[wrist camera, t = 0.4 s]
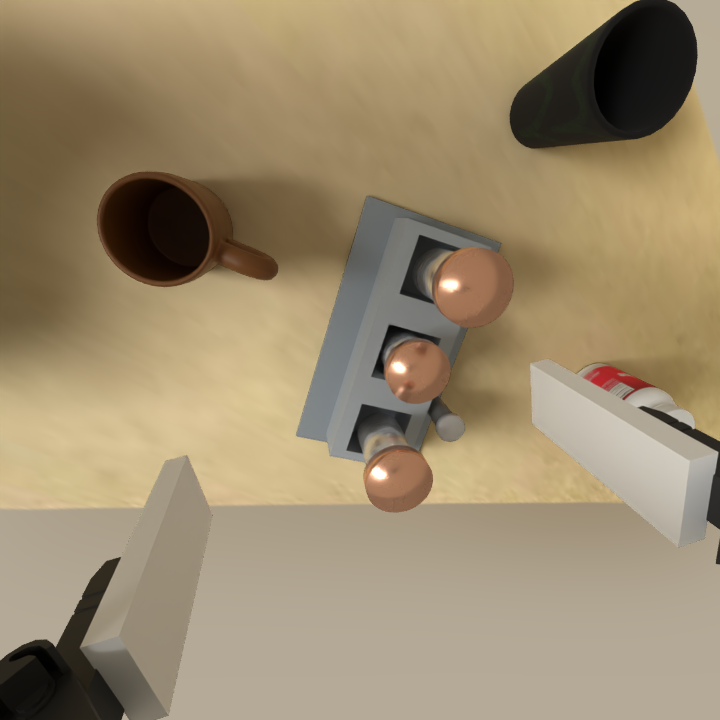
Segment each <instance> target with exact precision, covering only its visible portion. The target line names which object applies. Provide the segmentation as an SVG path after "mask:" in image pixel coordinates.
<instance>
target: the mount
mask: <svg viewBox="0 0 720 720" xmlns="http://www.w3.org/2000/svg"><path fill="white" fill-rule="evenodd" d="M500 246H501V243H499V242H496V241H493V240H491V239H488V238H485V237H482V236H479V235H477V234H474V233H471V232H468V231H465V230H462V229H460V228H457V227H454V226H451V225H448V224H446V223H443V222H440V221H437V220H434V219H432V218H429V217H426V216H423V215H420V214H417V213H415V212H412V211H409V210H406V209H403V208H401V207H398V206H395V205H392V204H389V203H386V202H384V201H381V200H378V199H375V198H372V197H370V196H367V197H366V200H365V203H364V207H363V210H362V214H361V217H360V220H359V224H358V227H357V230H356V234H355V237H354V241H353V244H352V247H351V251H350V254H349V257H348V261H347V264H346V268H345V271H344V274H343V278H342V281H341V284H340V288H339V291H338V295H337V298H336V301H335V305H334V308H333V311H332V315H331V318H330V322H329V325H328V328H327V332H326V335H325V338H324V342H323V345H322V349H321V352H320V355H319V359H318V362H317V365H316V369H315V372H314V376H313V379H312V382H311V386H310V389H309V392H308V396H307V399H306V403H305V406H304V409H303V413H302V416H301V419H300V423H299V426H298V430H297V433H296V436H298V437H303V438H308V439H313V440H318V441H324V442H328V448H329V454H330V456H333V457H338V458H344V459H349V460H354V461H360V462H365V459H364V456H363V452H362V449H361V446H360V442H359V439H358V428H359V425H360V423H361V422H362V421H363V420H364V419H365V418H366V417H367V416H369V415H371V414H374V413H379V412H382V413H387V414H390V415H392V416H393V417H394V418H395V419H396V420H397V422H398V424H399V426H400V427H401V429H402V431H403V433H404V435H405V437H406V439H407V441H408V443H409V445H410V447H412V448H415V449H416V450H418V451H419V450H420V447H421V445H422V442H423V440H424V437H425V435H426V432H427V430H428V427H429V425H430V422H431V420H432V419H431V418H430V416H429V415H428V413H427V412H428V409H429V406H430V404H431V401H432V400H430V401H428V402H425V403H421V404H411V403H406V402H404V401H402V400H400V399H398V398H397V397H396V396H395V395H394V394H393V393H392V391H391V389H390V388H389V386H388V384H387V382H386V380H385V376H384V365H383V363H382V361H381V360H380V358H379V356H378V355H379V352H380V349H381V346H382V343H383V340H384V337H385V334H386V331H387V329H388V326H390V325H394V326H398V327H401V328H405V329H409V330H411V331H412V332H413V333H414V334H415V335H416V336H417V337H418V338H422V339H426V340H429V341H431V342H433V343H434V344H436V345H437V346H438V347H439V348H440V349H441V350H442V351H443V352H444V353H445V354H446V355H447V357H448V359H449V362H450V367H451V369H452V367H453V364H454V362H455V359H456V357H457V354H458V352H459V349H460V346H461V344H462V341H463V339H464V336H465V334H466V331H467V329H468V328H467V327H462V326H459V325H457V324H455V323H453V322H452V321H450V320H449V319H447V318H446V317H444V316H443V315H442V314H441V313H440V312H439V311H438V309H437V308H436V306H435V304H434V301H433V300H432V299H430V298H428V297H427V296H425V295H423V294H422V293H421V292H419V291H418V290H417V288H416V287H415V285H414V282H413V277H412V272H413V267H414V264H415V262H416V261H417V259H418V258H419V257H420V256H421V255H422V254H423V253H424V252H426V251H428V250H430V249H435V248H440V249H445V250H450V251H454V252H455V251H457V250H459V249H462V248H466V247H478V248H484V249H489V250H492V251H494V252H497V253H498V251H499V248H500ZM442 392H443V391H442ZM442 392H441V393H440V394H439V395H438V396H439V398H440V397H441V394H442ZM365 463H366V462H365Z"/></svg>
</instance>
